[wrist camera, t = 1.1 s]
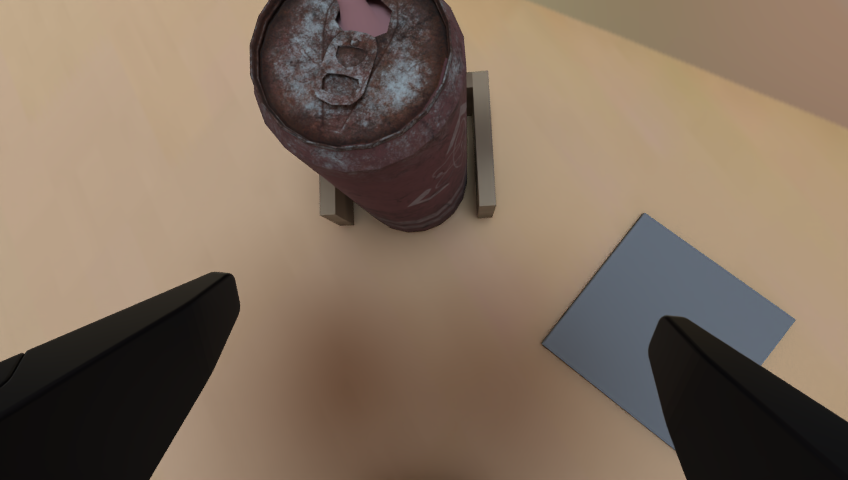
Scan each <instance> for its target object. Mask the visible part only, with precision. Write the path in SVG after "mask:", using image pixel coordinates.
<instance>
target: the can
mask: <svg viewBox="0 0 848 480" xmlns="http://www.w3.org/2000/svg"><path fill="white" fill-rule="evenodd" d="M250 76H251V79H252V81H253V84H254V94H255V97H256V100H257V103H258V105H259V108H260V111H261V114H262V116H263V119H264V122H265V124H266V125H267V126H268V128H269V129H270V130H271V131H272V133H273V134H274V135H275V136H276V137H277V139H278V140H279V141H280V142H281V144H282V145H283V146H284V147H285V148H286V149H287V150H288V151H290V152H291V153H292V154H294V155H295V156H296V157H297V158H299V159H300V160H301V161H303V162H304V163H305V164H307V165H308V166H309V167H310V168H312V169H313V170H314V171H316V172H317V173H318V174H319V175H321V176H322V177H323V178H325V179H326V180H327V181H328V182H330V183H331V184H332V185H334V186H335V187H336V188H338V189H339V190H340V191H341V192H343V193H344V194H345V195H347V196H348V197H349V198H350V199H352V200H353V201H354V202H356V203H357V204H358V205H359V206H361V207H362V208H363V209H365V210H366V211H367V212H369V213H370V214H371V215H372V216H374V217H375V218H376V219H378V220H379V221H381V222H382V223H384V224H386V225H387V226H389V227H390V228H393V229H397V230H401V231H405V232H415V231H425V230H428V229H430V228H433V227H435V226H437V225H440V224H441V223H443V222H444V221H445V220H446V219H447V218H449V217H450V216H451V215H452V214H453V213H454V212H455V210H456V209H457V207H458V206H459V204H460V202H461V201H462V199H463V196H464V192H465V188H466V184H467V81H466V58H465V46H464V36H463V34H462V32H461V30H460V27H459V25H458V23H457V21H456V18H455V16H454V14H453V12H452V10H451V7H450V6H449V5H448V4H447V3H446V2H445V1H444V0H269V1H268V2H267V4H266V5H265V7H264V9H263V10H262V12H261V13H260V15H259V16H258V19H257V23H256V26H255V29H254V33H253V36H252V39H251V43H250Z"/></svg>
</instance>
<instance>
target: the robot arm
mask: <svg viewBox="0 0 848 480" xmlns="http://www.w3.org/2000/svg"><path fill="white" fill-rule="evenodd" d="M239 311H240V301H239V296H238V291H237V286H236V281H235V278H234V276H233V275H232V274H230V273H223V272H211V273H208V274H206V275H204V276H201V277H199V278H197V279H194V280H192V281H189V282H187V283H185V284H182V285H180V286H178V287H175V288H173V289H171V290H168V291H166V292H164V293H161V294H159V295H157V296H154V297H152V298H150V299H147V300H145V301H142V302H140V303H138V304H135V305H133V306H131V307H128V308H126V309H124V310H121V311H119V312H117V313H114V314H112V315H110V316H107V317H105V318H103V319H100V320H98V321H96V322H93V323H91V324H88V325H86V326H84V327H81V328H79V329H77V330H74V331H72V332H70V333H67V334H65V335H63V336H60V337H58V338H56V339H53V340H51V341H49V342H46V343H44V344H42V345H39V346H37V347H34V348H32V349H30V350H28V351H26V353H25V354H24V353H20V354H18V355H15V356H13V357H11V358H8V359H6V360H4V361H1V362H0V480H149V479H150V478H151V476H152V474H153V473H154V471H155V469H156V467H157V466H158V464H159V462H160V461H161V459H162V457H163V456H164V454H165V452H166V451H167V449H168V447H169V445H170V444H171V442H172V440H173V439H174V437H175V435H176V434H177V432H178V430H179V429H180V427H181V425H182V423H183V422H184V420H185V418H186V417H187V415H188V413H189V412H190V410H191V408H192V407H193V405H194V403H195V402H196V400H197V398H198V396H199V395H200V393H201V391H202V390H203V388H204V386H205V385H206V383H207V381H208V379H209V377H210V376H211V374H212V372H213V370H214V368H215V366H216V363H217V361H218V359H219V357H220V355H221V352H222V350H223V348H224V346H225V344H226V341H227V339H228V337H229V335H230V333H231V330H232V328H233V326H234V324H235V322H236V319H237V317H238V315H239ZM648 357H649V361H650V365H651V369H652V373H653V377H654V381H655V384H656V388H657V392H658V396H659V400H660V404H661V408H662V412H663V415H664V419H665V422H666V426H667V429H668V431H669V434H670V437H671V440H672V442H673V445H674V448H675V450H676V453H677V456H678V458H679V461H680V463H681V466H682V469H683V471H684V474H685V477H686V479H687V480H848V422H847V421H846V420H844V419H842V418H841V417H839V416H838V415H836V414H835V413H833V412H832V411H830V410H828V409H827V408H825V407H824V406H822V405H821V404H819V403H818V402H816V401H814V400H813V399H811V398H810V397H808V396H807V395H805V394H804V393H802V392H800V391H799V390H797V389H796V388H794V387H793V386H791V385H790V384H788V383H787V382H785V381H783V380H782V379H780V378H779V377H777V376H776V375H774V374H773V373H771V372H769V371H768V370H766V369H765V368H763V367H762V366H760V365H759V364H757V363H756V362H754V361H752V360H751V359H749V358H748V357H746V356H745V355H743V354H742V353H740V352H738V351H737V350H735V349H734V348H732V347H731V346H729V345H728V344H726V343H725V342H723V341H721V340H720V339H718V338H717V337H715V336H714V335H712V334H711V333H709V332H707V331H706V330H704V329H703V328H701V327H700V326H698V325H697V324H695V323H694V322H692V321H690V320H689V319H687V318H685V317H681V316H671V315H664V316H662V317H661V318H660V319H659V321H658V323H657V326H656V328H655V331H654V333H653V336H652V338H651V341H650V343H649V347H648Z"/></svg>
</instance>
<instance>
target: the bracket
mask: <svg viewBox="0 0 848 480" xmlns="http://www.w3.org/2000/svg"><path fill="white" fill-rule="evenodd" d="M466 81H467V116H468V115H472V121H473V139H474V158H475V177H476V195H477V214H478V218H488V217H492V216H493V213H494V210H495V207H496V195H495V178H494V161H493V145H492V128H491V111H490V94H489V77H488V71H479V72H467V73H466ZM319 180H320V216H322V217H324V218H326V219H328V220H330V221H332V222H334V223H336V224H338V225H354V216H353V200H352V199H350V198H349V197H348V196H347V195H345V194H344V193H343V192H341V191H340V190H339V189H338V188H336V187H335V186H334V185H332V184H331V183H330V182H328V181H327V180H326V179H325V178H323V177H322V176H321V175H319Z"/></svg>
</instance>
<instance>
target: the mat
mask: <svg viewBox="0 0 848 480" xmlns="http://www.w3.org/2000/svg"><path fill="white" fill-rule="evenodd" d="M664 315H671V316H681V317H685V318H687V319H689V320H690V321H692V322H694V323H695V324H697V325H698V326H700V327H701V328H703V329H704V330H706V331H707V332H709V333H711V334H712V335H714V336H715V337H717V338H718V339H720V340H721V341H723V342H725V343H726V344H728V345H729V346H731V347H732V348H734V349H735V350H737V351H738V352H740V353H742V354H743V355H745V356H746V357H748V358H749V359H751V360H752V361H754V362H756V363H757V364H759V365H760V366H761V365H762V363H763V362H764V361H765V360H766V358H767V357H768V356H769V354H770V353H771V352H772V350H773V349H774V348H775V346H776V345H777V344H778V343H779V341H780V340H781V339H782V337H783V336H784V335H785V333H786V332H787V331H788V329H789V328H790V327H791V325H792V324H793V323H794V322H795V319H794V318H793V317H791V316H790V315H788V314H787V313H786V312H784V311H783V310H781V309H780V308H779V307H777V306H776V305H774V304H773V303H771V302H770V301H769V300H767V299H766V298H764V297H763V296H762V295H760V294H759V293H757V292H756V291H755V290H753V289H752V288H750V287H749V286H747V285H746V284H745V283H743V282H742V281H740V280H739V279H738V278H736V277H735V276H733V275H732V274H731V273H729V272H728V271H726V270H725V269H723V268H722V267H721V266H719V265H718V264H716V263H715V262H714V261H712V260H711V259H709V258H708V257H707V256H705V255H704V254H702V253H701V252H699V251H698V250H697V249H695V248H694V247H692V246H691V245H690V244H688V243H687V242H685V241H684V240H683V239H681V238H680V237H678V236H677V235H675V234H674V233H673V232H671V231H670V230H668V229H667V228H666V227H664V226H663V225H661V224H660V223H659V222H657V221H656V220H654V219H653V218H651V217H650V216H649V215H647V214H646V213H643V214H642V215H641V216H640V218H639V219H638V220H637V222H636V223H635V224H634V225H633V227H632V228H631V229H630V231H629V232H628V233H627V234H626V236H625V237H624V238H623V239H622V241H621V242H620V243H619V245H618V246H617V247H616V248H615V250H614V251H613V252H612V254H611V255H610V256H609V257H608V259H607V260H606V261H605V263H604V264H603V265H602V266H601V268H600V269H599V270H598V271H597V273H596V274H595V275H594V277H593V278H592V279H591V280H590V282H589V283H588V284H587V286H586V287H585V288H584V289H583V291H582V292H581V293H580V294H579V296H578V297H577V298H576V300H575V301H574V302H573V303H572V305H571V306H570V307H569V309H568V310H567V311H566V312H565V314H564V315H563V316H562V317H561V319H560V320H559V321H558V323H557V324H556V325H555V326H554V328H553V329H552V330H551V332H550V333H549V334H548V335H547V337H546V338H545V339H544V340H543V342H542V343H541V344H543V345H544V346H545V347H546V348H548V349H549V350H550V351H551V352H553V353H554V354H555V355H556V356H558V357H559V358H560V359H561V360H563V361H564V362H565V363H566V364H568V365H569V366H570V367H571V368H573V369H574V370H575V371H576V372H578V373H579V374H580V375H581V376H583V377H584V378H585V379H587V380H588V381H589V382H590V383H592V384H593V385H594V386H595V387H597V388H598V389H599V390H600V391H602V392H603V393H604V394H605V395H607V396H608V397H609V398H610V399H612V400H613V401H614V402H615V403H617V404H618V405H619V406H620V407H622V408H623V409H624V410H625V411H627V412H628V413H629V414H630V415H632V416H633V417H634V418H636V419H637V420H638V421H639V422H641V423H642V424H643V425H644V426H646V427H647V428H648V429H649V430H651V431H652V432H653V433H654V434H656V435H657V436H658V437H659V438H661V439H662V440H663V441H664V442H666V443H667V444H668V445H669V446H671V447H672V448H673V449H674V450H675V448H674V445H673V442H672V440H671V437H670V434H669V431H668V429H667V426H666V422H665V419H664V415H663V412H662V408H661V404H660V400H659V396H658V392H657V388H656V384H655V381H654V377H653V373H652V369H651V365H650V361H649V357H648V347H649V343H650V341H651V338H652V336H653V333H654V331H655V328H656V326H657V323H658V321H659V319H660V318H661V317H662V316H664Z"/></svg>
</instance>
